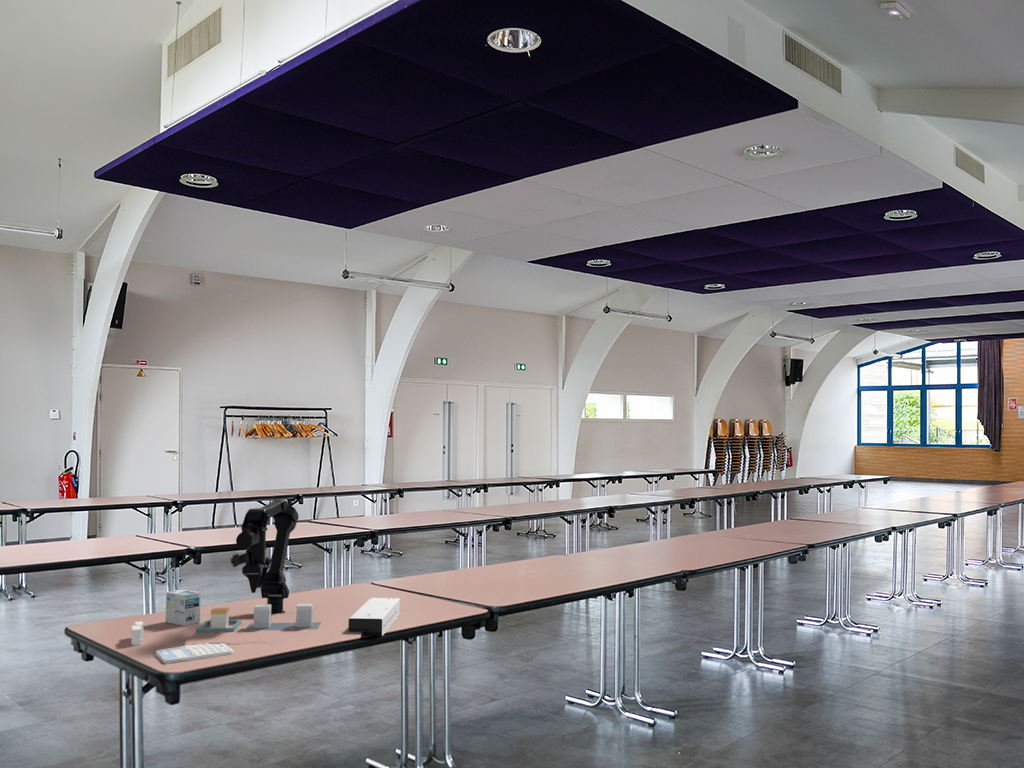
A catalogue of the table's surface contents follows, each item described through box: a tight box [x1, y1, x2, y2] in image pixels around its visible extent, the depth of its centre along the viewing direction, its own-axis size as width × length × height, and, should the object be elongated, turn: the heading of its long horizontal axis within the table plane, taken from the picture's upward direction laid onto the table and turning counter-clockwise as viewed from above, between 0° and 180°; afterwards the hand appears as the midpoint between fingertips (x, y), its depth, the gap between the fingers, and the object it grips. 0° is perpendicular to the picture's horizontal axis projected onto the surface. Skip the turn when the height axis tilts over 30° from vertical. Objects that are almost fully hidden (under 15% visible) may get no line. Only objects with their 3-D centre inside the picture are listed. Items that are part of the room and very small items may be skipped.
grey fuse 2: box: [295, 603, 314, 627], centre depth 282 cm, size 4×5×7 cm
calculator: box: [155, 642, 234, 664], centre depth 252 cm, size 13×20×2 cm, turn 125°
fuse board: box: [243, 621, 322, 632], centre depth 281 cm, size 10×24×2 cm, turn 96°
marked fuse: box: [210, 607, 230, 628], centre depth 279 cm, size 4×5×7 cm
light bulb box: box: [165, 589, 201, 627], centre depth 292 cm, size 11×7×11 cm, turn 59°
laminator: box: [347, 597, 401, 637], centre depth 291 cm, size 34×12×6 cm, turn 178°
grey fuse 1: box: [253, 603, 272, 628], centre depth 280 cm, size 4×5×7 cm
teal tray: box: [195, 619, 242, 633], centre depth 279 cm, size 12×12×2 cm
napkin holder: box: [130, 621, 144, 646], centre depth 267 cm, size 15×11×6 cm
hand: (255, 590), depth 289 cm, fingers open, 9 cm apart
